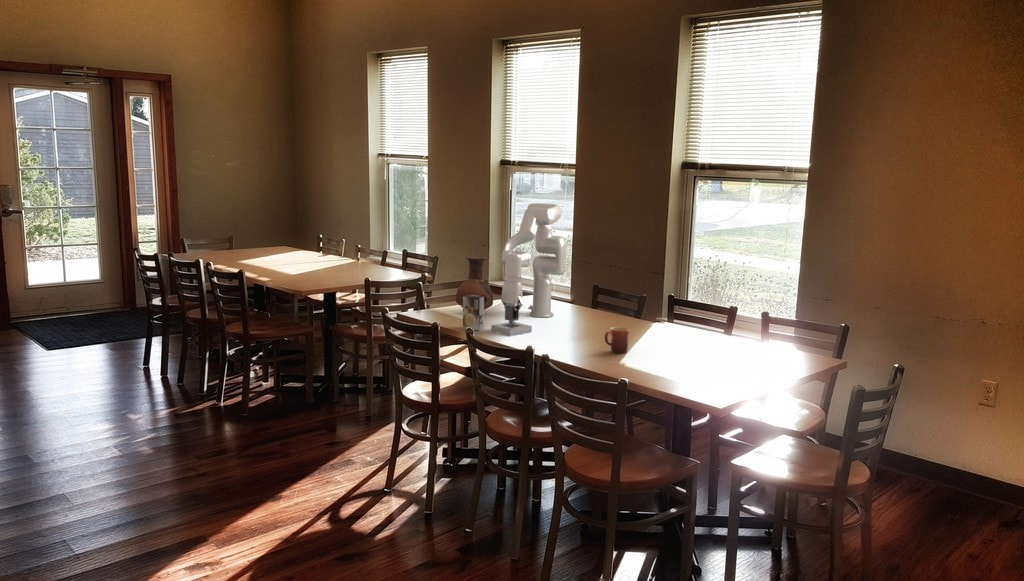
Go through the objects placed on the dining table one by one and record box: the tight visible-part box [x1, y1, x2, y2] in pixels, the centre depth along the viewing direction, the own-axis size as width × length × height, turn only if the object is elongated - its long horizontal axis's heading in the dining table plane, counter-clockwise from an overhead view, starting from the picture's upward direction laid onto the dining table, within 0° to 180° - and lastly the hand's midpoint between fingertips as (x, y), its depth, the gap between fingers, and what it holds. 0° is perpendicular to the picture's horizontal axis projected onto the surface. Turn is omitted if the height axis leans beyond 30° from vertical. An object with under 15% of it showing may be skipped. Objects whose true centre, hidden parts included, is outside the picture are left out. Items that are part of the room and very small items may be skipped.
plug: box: [504, 304, 520, 322], centre depth 376 cm, size 5×5×7 cm
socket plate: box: [491, 321, 533, 337], centre depth 377 cm, size 13×14×4 cm
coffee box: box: [462, 295, 485, 332], centre depth 380 cm, size 9×6×16 cm
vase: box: [455, 255, 494, 311], centre depth 414 cm, size 25×20×30 cm
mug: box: [604, 326, 631, 354], centre depth 342 cm, size 12×9×10 cm
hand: (511, 317), depth 376 cm, fingers closed on plug, 4 cm apart
